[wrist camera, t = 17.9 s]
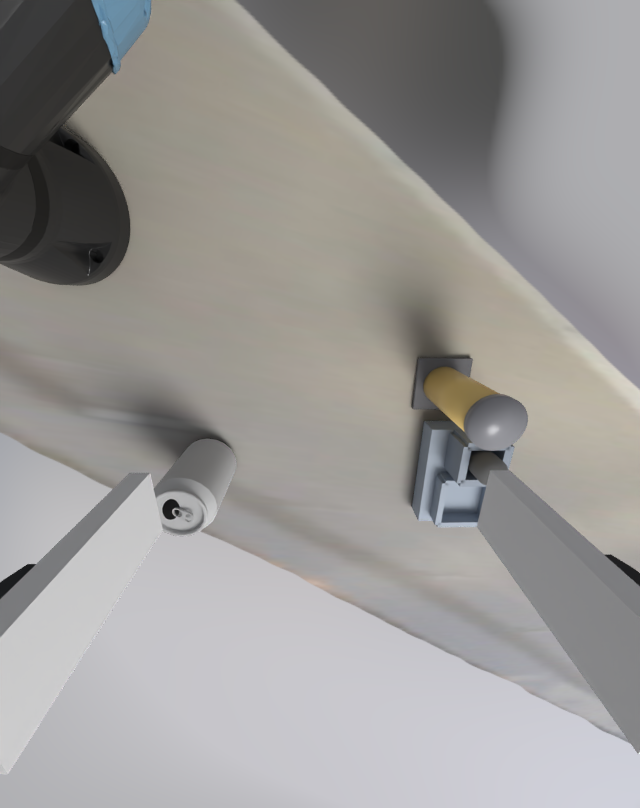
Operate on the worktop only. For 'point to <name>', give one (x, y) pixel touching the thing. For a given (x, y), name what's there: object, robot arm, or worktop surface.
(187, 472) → the can
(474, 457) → the plunger
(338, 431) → the worktop surface
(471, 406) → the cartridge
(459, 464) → the housing
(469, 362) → the mat
